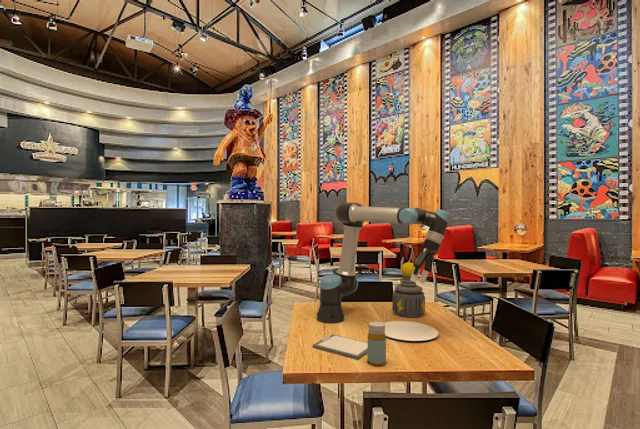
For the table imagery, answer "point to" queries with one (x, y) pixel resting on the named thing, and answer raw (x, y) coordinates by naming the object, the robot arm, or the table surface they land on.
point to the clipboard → (343, 346)
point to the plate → (409, 331)
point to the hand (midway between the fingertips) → (417, 282)
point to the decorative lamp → (408, 295)
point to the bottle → (376, 344)
